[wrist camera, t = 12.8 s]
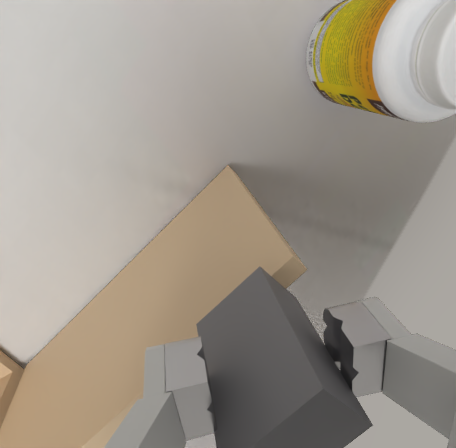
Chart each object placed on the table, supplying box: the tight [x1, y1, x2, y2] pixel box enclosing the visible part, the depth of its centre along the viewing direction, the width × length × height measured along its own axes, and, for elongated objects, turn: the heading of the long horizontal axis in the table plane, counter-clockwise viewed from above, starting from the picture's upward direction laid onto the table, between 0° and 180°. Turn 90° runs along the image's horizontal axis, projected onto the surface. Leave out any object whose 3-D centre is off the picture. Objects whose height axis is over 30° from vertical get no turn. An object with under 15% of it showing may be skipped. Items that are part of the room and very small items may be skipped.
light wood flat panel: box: [0, 165, 372, 448], centre depth 17 cm, size 20×2×17 cm, turn 133°
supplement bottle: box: [306, 0, 456, 123], centre depth 17 cm, size 6×6×10 cm
